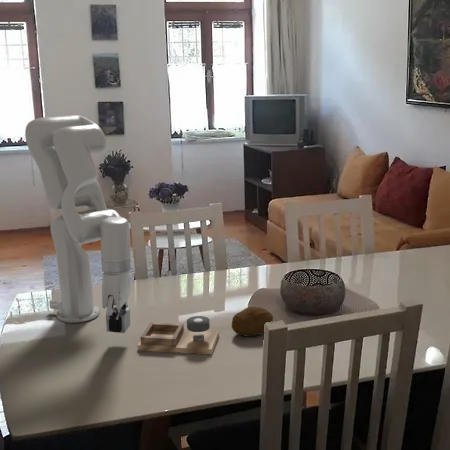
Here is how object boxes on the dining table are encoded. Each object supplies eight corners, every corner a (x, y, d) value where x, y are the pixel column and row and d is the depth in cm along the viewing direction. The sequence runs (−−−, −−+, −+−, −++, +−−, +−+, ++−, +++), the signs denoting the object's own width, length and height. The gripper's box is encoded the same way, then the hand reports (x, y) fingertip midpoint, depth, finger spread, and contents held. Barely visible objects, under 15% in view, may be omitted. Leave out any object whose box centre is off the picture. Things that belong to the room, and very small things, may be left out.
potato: (226, 332, 173) (225, 307, 171) (263, 323, 179) (263, 298, 177) (241, 343, 166) (240, 317, 164) (279, 333, 172) (279, 307, 170)
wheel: (184, 331, 162) (184, 324, 162) (189, 322, 168) (189, 315, 168) (207, 332, 161) (207, 325, 161) (211, 323, 167) (211, 316, 167)
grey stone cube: (106, 331, 165) (105, 314, 163) (112, 322, 169) (112, 306, 168) (124, 333, 164) (124, 316, 162) (130, 324, 168) (129, 308, 167)
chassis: (137, 350, 163) (136, 338, 162) (149, 332, 174) (148, 321, 173) (211, 354, 160) (211, 342, 159) (218, 336, 171) (218, 324, 170)
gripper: (113, 252, 169) (115, 311, 175) (90, 275, 153) (93, 340, 159) (139, 254, 168) (141, 314, 174) (119, 277, 152) (121, 343, 158)
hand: (118, 326), depth 166 cm, fingers closed on grey stone cube, 5 cm apart
